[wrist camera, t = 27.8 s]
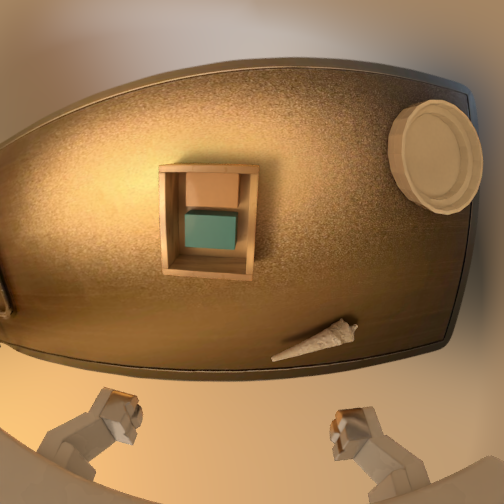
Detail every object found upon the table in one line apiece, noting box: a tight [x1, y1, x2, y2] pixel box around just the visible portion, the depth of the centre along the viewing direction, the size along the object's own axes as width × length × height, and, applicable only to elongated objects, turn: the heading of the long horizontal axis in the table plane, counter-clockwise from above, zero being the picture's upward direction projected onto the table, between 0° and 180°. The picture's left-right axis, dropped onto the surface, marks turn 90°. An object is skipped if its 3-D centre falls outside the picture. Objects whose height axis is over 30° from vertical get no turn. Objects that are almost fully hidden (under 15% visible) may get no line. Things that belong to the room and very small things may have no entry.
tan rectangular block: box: [186, 172, 241, 208], centre depth 31 cm, size 4×6×3 cm, turn 87°
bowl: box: [387, 100, 483, 215], centre depth 28 cm, size 15×15×4 cm
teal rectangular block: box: [185, 210, 238, 250], centre depth 33 cm, size 4×6×3 cm, turn 87°
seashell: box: [271, 318, 358, 361], centre depth 37 cm, size 14×4×4 cm, turn 110°
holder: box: [159, 163, 259, 281], centre depth 31 cm, size 13×11×6 cm
